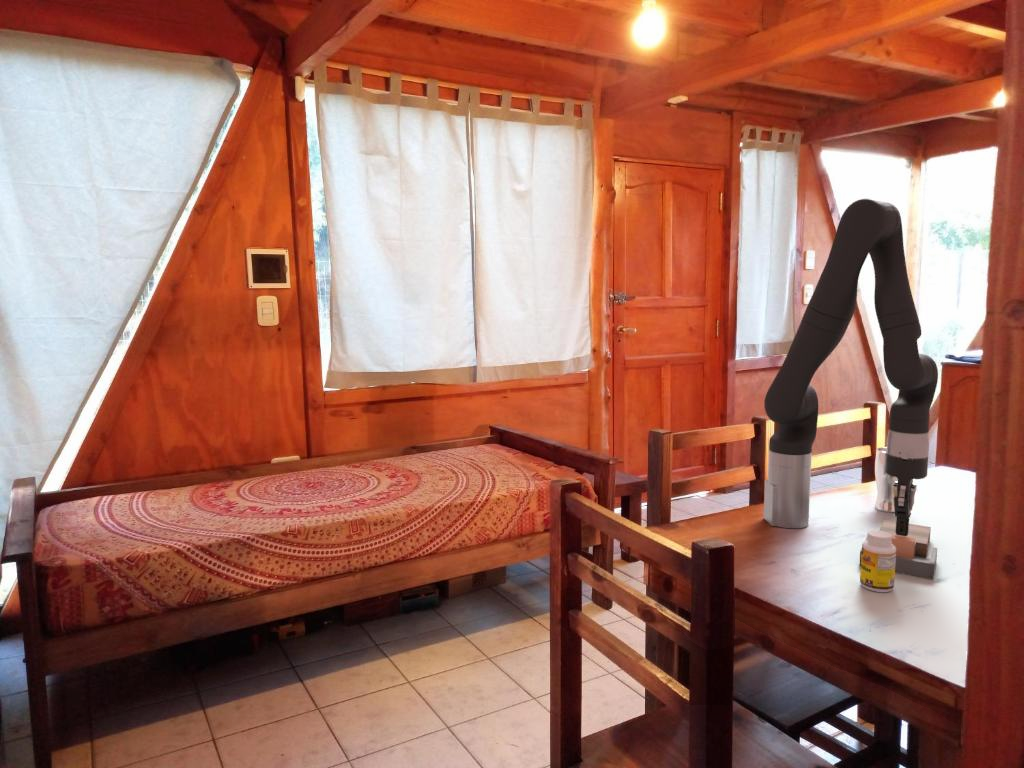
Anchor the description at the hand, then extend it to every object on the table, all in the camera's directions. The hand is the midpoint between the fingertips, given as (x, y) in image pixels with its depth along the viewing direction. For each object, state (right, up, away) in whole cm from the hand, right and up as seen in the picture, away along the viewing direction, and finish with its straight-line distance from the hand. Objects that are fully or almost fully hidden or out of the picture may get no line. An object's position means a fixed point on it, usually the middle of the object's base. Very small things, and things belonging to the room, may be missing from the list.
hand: (901, 534), depth 144 cm
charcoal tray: (-3, -5, -5) cm, 8 cm away
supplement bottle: (-13, -7, -16) cm, 22 cm away
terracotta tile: (-3, -2, -5) cm, 6 cm away
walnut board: (+3, -3, +5) cm, 7 cm away
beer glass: (+13, 0, +29) cm, 31 cm away
